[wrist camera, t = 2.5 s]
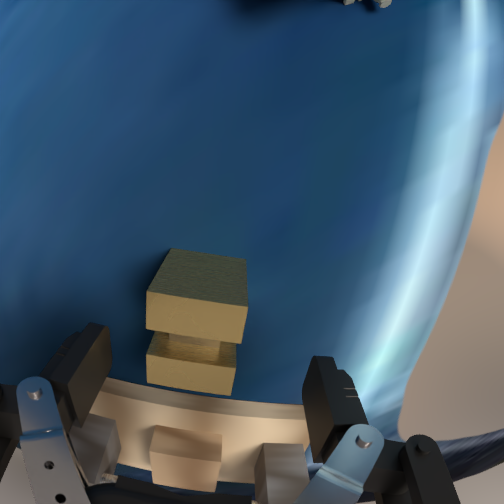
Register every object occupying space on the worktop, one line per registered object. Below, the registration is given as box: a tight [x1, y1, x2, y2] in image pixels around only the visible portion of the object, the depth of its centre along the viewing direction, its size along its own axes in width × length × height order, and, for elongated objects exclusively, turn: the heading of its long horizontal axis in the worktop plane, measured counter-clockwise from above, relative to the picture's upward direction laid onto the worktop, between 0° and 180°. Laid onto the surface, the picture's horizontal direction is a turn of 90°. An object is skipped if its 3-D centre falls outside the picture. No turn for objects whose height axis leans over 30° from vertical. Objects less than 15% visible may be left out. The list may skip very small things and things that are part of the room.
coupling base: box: [69, 377, 310, 504], centre depth 18 cm, size 18×10×8 cm, turn 80°
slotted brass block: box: [146, 248, 248, 396], centre depth 15 cm, size 5×4×5 cm
